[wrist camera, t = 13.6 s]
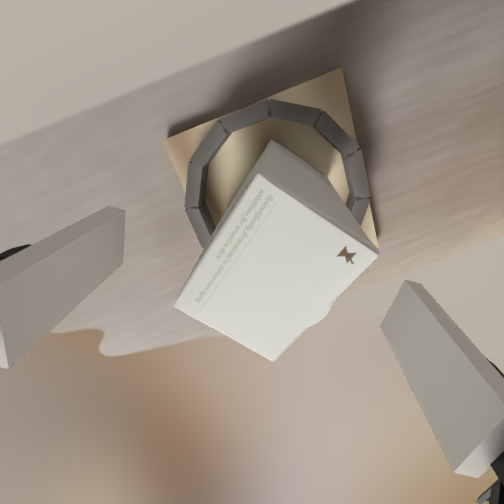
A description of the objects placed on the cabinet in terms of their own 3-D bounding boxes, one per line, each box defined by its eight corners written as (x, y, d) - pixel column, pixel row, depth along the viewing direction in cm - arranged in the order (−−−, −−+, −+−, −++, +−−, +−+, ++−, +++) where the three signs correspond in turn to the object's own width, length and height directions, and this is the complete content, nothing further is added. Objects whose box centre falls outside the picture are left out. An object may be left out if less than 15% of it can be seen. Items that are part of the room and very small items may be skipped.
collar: (229, 282, 33) (223, 300, 29) (167, 139, 27) (150, 142, 24) (375, 243, 29) (387, 259, 26) (339, 69, 23) (348, 60, 20)
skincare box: (272, 136, 25) (258, 156, 11) (333, 180, 26) (393, 250, 12) (223, 213, 28) (163, 306, 14) (278, 249, 29) (275, 370, 15)
